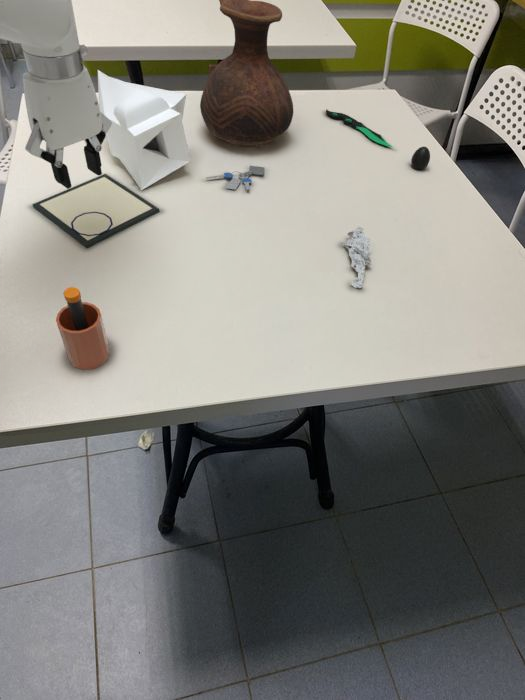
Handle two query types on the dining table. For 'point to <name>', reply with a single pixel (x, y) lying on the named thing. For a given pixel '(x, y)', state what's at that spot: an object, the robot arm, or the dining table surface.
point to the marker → (76, 308)
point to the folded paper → (144, 128)
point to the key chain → (235, 182)
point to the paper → (358, 253)
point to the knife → (358, 126)
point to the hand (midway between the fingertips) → (79, 177)
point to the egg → (420, 158)
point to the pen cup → (84, 338)
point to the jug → (247, 81)
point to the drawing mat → (95, 209)
